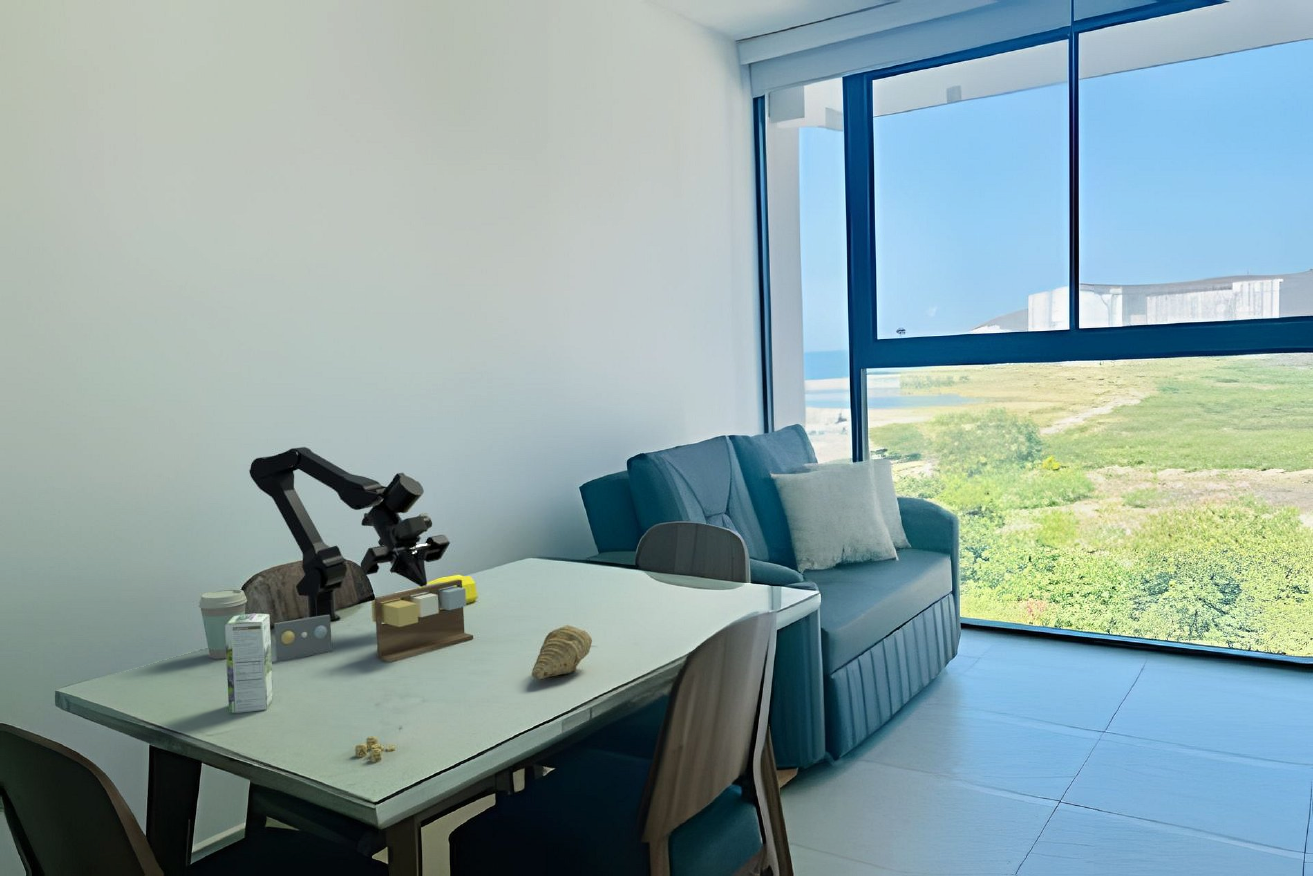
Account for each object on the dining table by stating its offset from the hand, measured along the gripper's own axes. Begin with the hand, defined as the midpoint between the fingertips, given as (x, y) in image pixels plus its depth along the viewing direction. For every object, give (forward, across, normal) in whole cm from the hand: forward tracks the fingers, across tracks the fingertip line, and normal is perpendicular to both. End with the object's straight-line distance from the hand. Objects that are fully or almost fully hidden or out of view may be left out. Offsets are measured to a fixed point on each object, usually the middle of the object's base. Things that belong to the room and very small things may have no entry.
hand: (424, 585), depth 197 cm
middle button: (+7, -7, -2) cm, 10 cm away
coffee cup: (-8, -32, +21) cm, 39 cm away
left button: (+9, -13, -4) cm, 17 cm away
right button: (+7, 0, -2) cm, 8 cm away
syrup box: (+17, -44, -3) cm, 47 cm away
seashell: (+38, -4, -23) cm, 45 cm away
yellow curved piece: (-4, +17, +19) cm, 25 cm away
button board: (+14, -7, 0) cm, 15 cm away
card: (+2, -23, +11) cm, 26 cm away
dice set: (+42, -43, -26) cm, 65 cm away
